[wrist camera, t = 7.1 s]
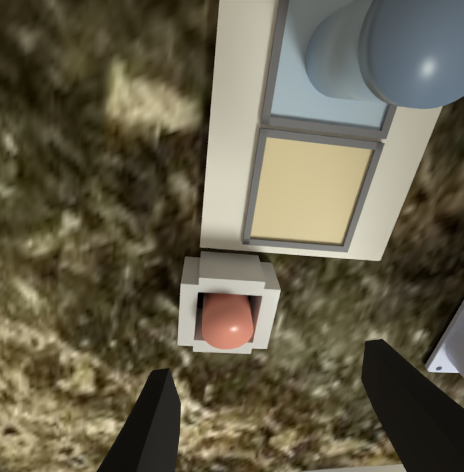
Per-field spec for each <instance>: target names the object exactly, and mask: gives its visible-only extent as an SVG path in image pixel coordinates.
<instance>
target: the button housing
mask: <svg viewBox="0 0 464 472" xmlns="http://www.w3.org/2000/svg"><path fill="white" fill-rule="evenodd" d="M280 291H281V289H280V286H279V283H278V280H277V277H276V274H275V271H274V268H273V265H272V263H268V262H260V260H259V256H258V255H248V254H234V253H221V252H207V251H201V258H199V257H185V261H184V267H183V273H182V279H181V288H180V308H179V328H178V345H183V346H193V351H194V352H220V353H246V354H251V350H252V348H258V349H267V346H268V341H269V337H270V333H271V329H272V325H273V320H274V316H275V312H276V308H277V304H278V299H279V295H280ZM198 292H206V293H223V294H239V295H251V297H250V303H249V305H250V311H251V317H252V323H253V334H252V337H251V338H250V340H249V341H248V342H247V343H245V344H244V345H242V346H240V347H238V348H234V349H218V348H215V347H213V346H211V345H209V344H208V343H207V342H206V341H205V340H204V338H203V335H202V316H203V309H199V308H197V297H198Z"/></svg>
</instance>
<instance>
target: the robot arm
mask: <svg viewBox="0 0 464 472" xmlns="http://www.w3.org/2000/svg"><path fill="white" fill-rule="evenodd" d="M425 368H426V369H427V370H428V371H429V372H450V373H460V374H461V375H462V376H463V378H464V301H463V302H462V304H461V306H460V307H459V309H458V311H457V312H456V314H455V316H454V317H453V319H452V321H451V322H450V324H449V326H448V327H447V329H446V331H445V333H444V334H443V336H442V338H441V339H440V341H439V343H438V344H437V346H436V348H435V349H434V351H433V353H432V354H431V356H430V358H429V359H428V361H427V363H426V365H425ZM361 379H362V382H363V385H364V387H365V390H366V392H367V395H368V397H369V399H370V402H371V404H372V407H373V409H374V411H375V413H376V415H377V417H378V419H379V421H380V422H381V424H382V426H383V428H384V430H385V432H386V434H387V436H388V438H389V439H390V441H391V443H392V445H393V447H394V449H395V451H396V453H397V454H398V456H399V458H400V460H401V462H402V464H403V466H404V468H405V469H406V471H407V472H464V408H463V407H461V406H460V405H459V404H457V403H456V402H455V401H454V400H452V399H451V398H450V397H449V396H448V395H446V394H445V393H444V392H443V391H442V390H440V389H439V388H438V387H437V386H436V385H434V384H433V383H432V382H431V381H430V380H428V379H427V378H426V377H425V376H424V375H423V374H421V373H420V372H419V371H418V370H417V369H416V368H414V367H413V366H412V365H411V364H410V363H409V362H408V361H407V360H405V359H404V358H403V357H402V356H401V355H400V354H399V353H398V352H396V351H395V350H394V349H393V348H392V347H391V346H390V345H389V344H388V343H386V342H385V341H384V340H383V339H379V340H371V341H365V350H364V358H363V367H362V376H361ZM180 414H181V402H180V399H179V396H178V393H177V390H176V387H175V384H174V381H173V378H172V375H171V372H170V369H169V368H167V369H159V370H153V371H152V372H151V373H150V375H149V377H148V379H147V381H146V383H145V386H144V388H143V390H142V392H141V394H140V396H139V398H138V400H137V402H136V404H135V405H134V407H133V409H132V411H131V413H130V415H129V417H128V419H127V420H126V422H125V424H124V426H123V428H122V429H121V431H120V433H119V435H118V437H117V438H116V440H115V442H114V444H113V445H112V447H111V449H110V450H109V452H108V454H107V455H106V457H105V459H104V460H103V462H102V463H101V465H100V467H99V468H98V470H97V472H175V466H176V458H177V451H178V444H179V436H180Z"/></svg>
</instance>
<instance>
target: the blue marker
mask: <svg viewBox="0 0 464 472" xmlns="http://www.w3.org/2000/svg"><path fill="white" fill-rule="evenodd" d="M306 71H307V75H308V78H309V80H310V82H311V84H312V85H313V87H314V88H315V89H316V90H317V91H318V92H319V93H321V94H322V95H325V96H327V97H330V98H338V99H347V100H357V101H367V102H376V103H386V104H389V105H393V106H399V107H407V108H416V109H432V108H437V107H441V106H444V105H447V104H449V103H452V102H454V101H456V100H458V99H460V98H461V97H463V96H464V0H354V1H352V2H351V3H349V4H348V5H346V6H344V7H343V8H341V9H340V10H338V11H337V12H335V13H333V14H332V15H330V16H329V17H327V18H326V19H325V20H324V21H323V22H322V23H321V24H320V25H319V26H318V27H317V29H316V30H315V31H314V33H313V35H312V37H311V39H310V41H309V44H308V47H307V52H306Z"/></svg>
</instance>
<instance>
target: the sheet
mask: <svg viewBox="0 0 464 472" xmlns="http://www.w3.org/2000/svg"><path fill="white" fill-rule="evenodd" d="M352 1H354V0H219V13H218V25H217V38H216V50H215V63H214V75H213V88H212V100H211V113H210V125H209V138H208V150H207V163H206V176H205V188H204V201H203V213H202V226H201V238H200V247H201V248H214V249H228V250H241V251H254V252H267V253H281V254H294V255H307V256H320V257H334V258H347V259H360V260H373V261H380V260H381V258H382V255H383V253H384V250H385V248H386V245H387V243H388V240H389V238H390V235H391V233H392V230H393V228H394V225H395V223H396V220H397V218H398V216H399V213H400V211H401V208H402V206H403V203H404V201H405V198H406V196H407V193H408V191H409V188H410V186H411V183H412V181H413V178H414V176H415V173H416V171H417V168H418V166H419V163H420V161H421V159H422V156H423V154H424V151H425V149H426V146H427V144H428V141H429V139H430V136H431V134H432V131H433V129H434V126H435V124H436V121H437V119H438V116H439V114H440V111H441V109H442V106H441V107H437V108H432V109H416V108H407V107H399V106H393V105H389V104H386V103H376V102H367V101H357V100H347V99H338V98H330V97H327V96H325V95H322V94H321V93H319V92H318V91H317V90H316V89H315V88H314V87H313V85H312V84H311V82H310V80H309V78H308V75H307V71H306V52H307V47H308V44H309V41H310V39H311V37H312V35H313V33H314V31H315V30H316V29H317V27H318V26H319V25H320V24H321V23H322V22H323V21H324V20H325V19H326V18H327V17H329V16H330V15H332V14H333V13H335V12H337V11H338V10H340V9H341V8H343V7H344V6H346V5H348V4H349V3H351V2H352Z"/></svg>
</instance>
